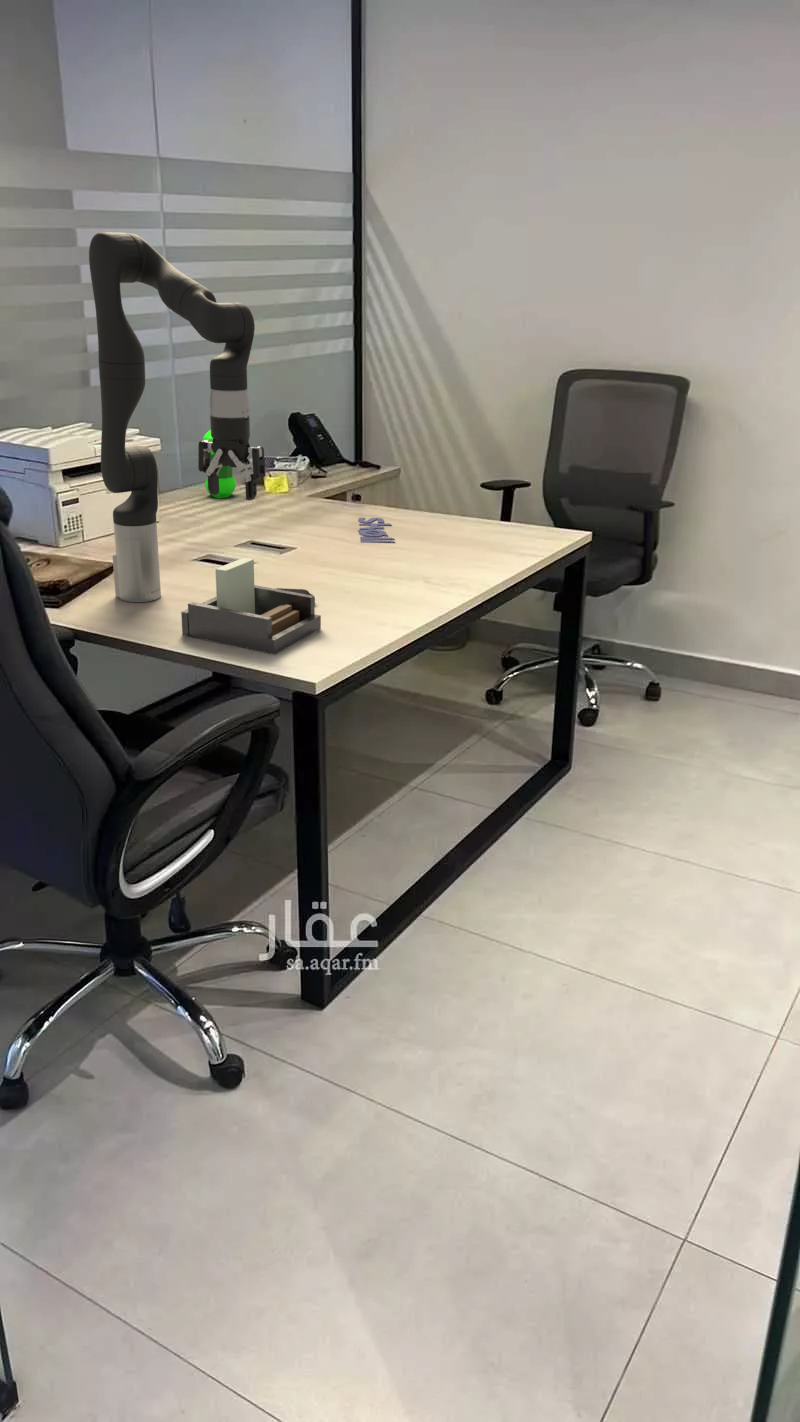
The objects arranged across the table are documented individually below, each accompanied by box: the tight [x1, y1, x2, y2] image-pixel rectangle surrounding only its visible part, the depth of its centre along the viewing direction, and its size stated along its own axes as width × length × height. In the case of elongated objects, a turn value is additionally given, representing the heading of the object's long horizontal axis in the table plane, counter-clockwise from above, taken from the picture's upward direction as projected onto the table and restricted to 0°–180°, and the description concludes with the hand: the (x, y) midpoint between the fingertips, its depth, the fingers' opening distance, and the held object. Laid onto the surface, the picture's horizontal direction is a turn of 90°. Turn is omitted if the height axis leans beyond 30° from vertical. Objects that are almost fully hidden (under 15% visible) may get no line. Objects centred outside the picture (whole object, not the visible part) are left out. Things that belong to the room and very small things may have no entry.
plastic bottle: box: [202, 428, 237, 499], centre depth 335 cm, size 10×10×25 cm
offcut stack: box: [262, 605, 299, 636], centre depth 219 cm, size 4×12×6 cm, turn 154°
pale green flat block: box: [215, 557, 255, 614], centre depth 221 cm, size 2×10×14 cm, turn 154°
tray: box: [180, 584, 322, 656], centre depth 221 cm, size 22×18×7 cm
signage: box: [357, 517, 396, 544], centre depth 305 cm, size 28×1×10 cm
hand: (232, 496), depth 213 cm, fingers open, 8 cm apart
